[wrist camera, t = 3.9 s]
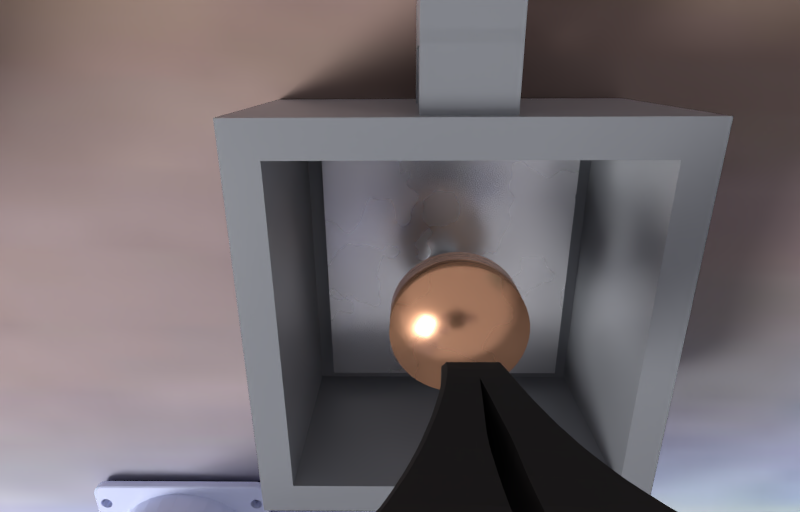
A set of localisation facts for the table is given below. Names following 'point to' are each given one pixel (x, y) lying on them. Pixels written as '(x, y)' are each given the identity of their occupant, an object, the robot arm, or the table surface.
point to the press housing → (460, 141)
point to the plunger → (447, 263)
